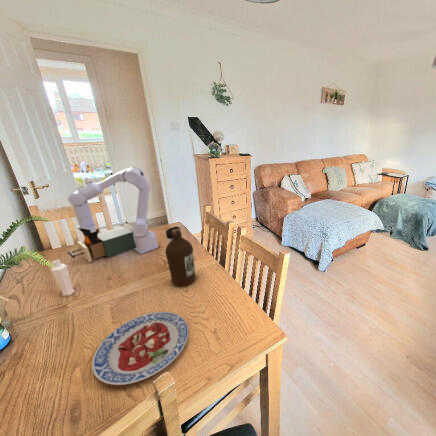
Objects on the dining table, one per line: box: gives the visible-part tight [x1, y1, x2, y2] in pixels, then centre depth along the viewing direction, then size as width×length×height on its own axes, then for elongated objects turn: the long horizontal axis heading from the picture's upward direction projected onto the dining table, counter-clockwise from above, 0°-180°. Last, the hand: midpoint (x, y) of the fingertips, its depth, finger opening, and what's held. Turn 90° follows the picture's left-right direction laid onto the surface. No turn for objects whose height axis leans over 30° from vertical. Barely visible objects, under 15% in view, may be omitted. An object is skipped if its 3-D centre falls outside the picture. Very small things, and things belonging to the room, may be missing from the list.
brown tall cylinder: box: [165, 226, 182, 245], centre depth 113 cm, size 6×7×20 cm
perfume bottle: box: [50, 259, 76, 297], centre depth 94 cm, size 5×4×15 cm
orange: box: [84, 236, 98, 245], centre depth 118 cm, size 5×5×5 cm
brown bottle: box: [165, 228, 196, 288], centre depth 102 cm, size 11×11×25 cm
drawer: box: [67, 239, 107, 263], centre depth 119 cm, size 17×10×8 cm, turn 145°
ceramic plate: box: [91, 311, 189, 386], centre depth 75 cm, size 26×26×3 cm
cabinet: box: [97, 226, 137, 259], centre depth 127 cm, size 14×12×10 cm
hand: (92, 241), depth 119 cm, fingers closed on orange, 5 cm apart
